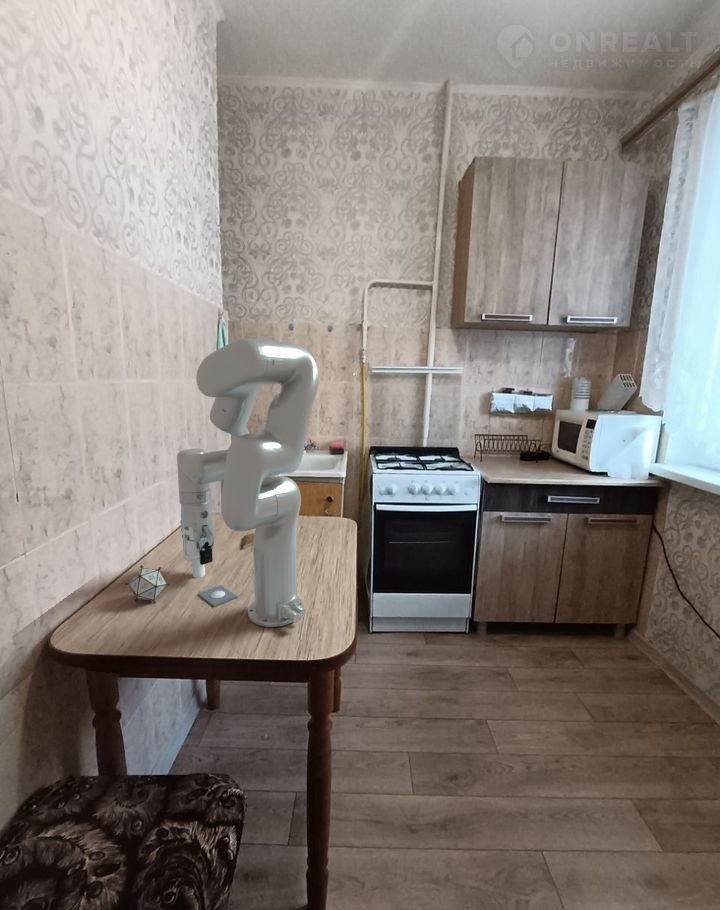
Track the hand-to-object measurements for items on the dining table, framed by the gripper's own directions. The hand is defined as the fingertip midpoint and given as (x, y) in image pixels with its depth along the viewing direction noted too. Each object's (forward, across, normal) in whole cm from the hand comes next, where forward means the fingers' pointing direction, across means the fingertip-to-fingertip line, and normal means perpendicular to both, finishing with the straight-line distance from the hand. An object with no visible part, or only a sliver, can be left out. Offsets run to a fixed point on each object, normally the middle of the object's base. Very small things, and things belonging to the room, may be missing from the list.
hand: (197, 557), depth 111 cm
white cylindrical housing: (+5, 0, 0) cm, 5 cm away
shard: (+6, +10, -24) cm, 27 cm away
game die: (+5, -4, +14) cm, 16 cm away
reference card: (+5, -14, +2) cm, 15 cm away
